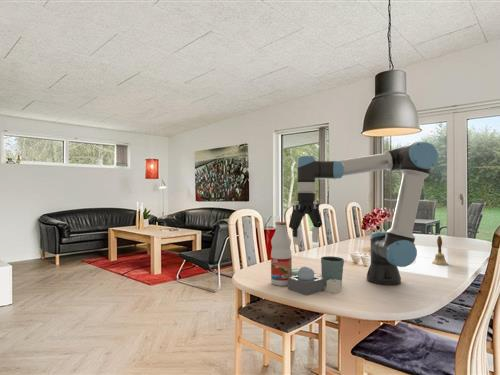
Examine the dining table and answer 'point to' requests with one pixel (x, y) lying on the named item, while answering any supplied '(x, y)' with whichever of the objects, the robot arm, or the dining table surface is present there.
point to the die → (333, 285)
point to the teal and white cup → (332, 268)
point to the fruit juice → (281, 256)
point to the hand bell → (439, 254)
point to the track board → (295, 272)
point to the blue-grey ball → (305, 274)
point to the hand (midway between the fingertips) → (305, 243)
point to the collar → (306, 285)
